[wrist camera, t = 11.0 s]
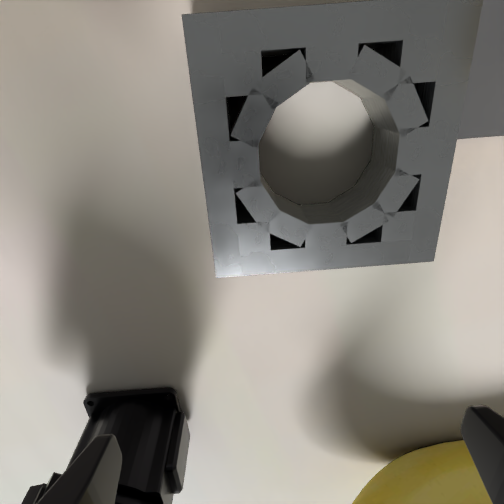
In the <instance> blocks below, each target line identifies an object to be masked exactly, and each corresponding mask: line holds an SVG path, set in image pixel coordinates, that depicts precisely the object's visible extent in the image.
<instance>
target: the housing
mask: <svg viewBox="0 0 504 504" xmlns="http://www.w3.org/2000/svg"><path fill="white" fill-rule="evenodd" d="M482 5H483V0H372V1H359V2H345V3H331V4H318V5H304V6H291V7H277V8H264V9H250V10H236V11H223V12H209V13H196V14H182V21H183V28H184V36H185V44H186V51H187V59H188V66H189V74H190V82H191V89H192V97H193V105H194V112H195V120H196V127H197V135H198V143H199V150H200V158H201V166H202V173H203V181H204V188H205V196H206V204H207V211H208V219H209V227H210V234H211V242H212V249H213V257H214V265H215V272H216V278H222V277H235V276H248V275H261V274H274V273H287V272H300V271H313V270H326V269H339V268H353V267H366V266H379V265H392V264H405V263H418V262H431V261H434V257H435V252H436V246H437V241H438V236H439V231H440V225H441V220H442V215H443V210H444V204H445V199H446V194H447V189H448V183H449V178H450V173H451V168H452V162H453V157H454V152H455V147H456V141H457V136H458V131H459V126H460V120H461V115H462V110H463V105H464V99H465V94H466V89H467V84H468V78H469V73H470V68H471V63H472V57H473V52H474V47H475V42H476V36H477V31H478V26H479V21H480V15H481V10H482ZM372 49H374V50H372ZM284 55H291V56H289V57H288V58H287V59H285V60H284V61H283V62H281V63H280V64H279V65H277V66H276V67H275V68H273V69H272V70H271V71H269V72H268V73H267V74H265V75H264V76H263V77H262V60H261V57H271V56H284ZM327 81H333V82H335V83H336V84H338V85H340V86H341V87H343V88H345V89H347V90H348V91H350V92H352V93H353V94H355V95H357V96H358V97H360V98H361V100H362V102H363V104H364V107H365V109H366V111H367V113H368V115H369V117H370V119H371V121H372V123H373V125H374V134H373V146H372V157H371V161H370V162H369V164H368V165H367V167H366V169H365V170H364V172H363V173H362V175H361V177H360V178H359V180H358V181H357V183H356V185H355V186H354V187H353V188H351V189H350V190H348V191H346V192H345V193H343V194H341V195H340V196H338V197H337V198H335V199H333V200H332V201H330V202H329V203H318V204H305V205H298V204H296V203H294V202H292V201H290V200H288V199H286V198H284V197H282V196H279V195H277V194H275V193H273V191H272V190H271V188H270V187H269V185H268V184H267V182H266V181H265V179H264V178H263V176H262V175H261V173H260V164H259V146H258V144H259V142H260V140H261V138H262V136H263V134H264V132H265V129H266V127H267V125H268V123H269V121H270V119H271V117H272V115H273V113H274V111H275V109H276V107H277V106H278V105H280V104H281V103H283V102H284V101H285V100H287V99H288V98H290V97H291V96H292V95H294V94H295V93H297V92H298V91H299V90H301V89H302V88H303V87H305V86H306V85H308V84H309V83H314V82H327ZM234 96H246V97H245V99H244V102H243V104H242V106H241V109H240V111H239V113H238V115H237V118H236V120H235V122H234V125H233V127H232V130H231V127H230V116H229V105H228V97H234ZM236 194H237V195H236ZM237 196H238V197H239V199H240V200H241V201H242V203H243V204H237Z"/></svg>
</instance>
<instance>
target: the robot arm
mask: <svg viewBox="0 0 504 504" xmlns="http://www.w3.org/2000/svg"><path fill="white" fill-rule="evenodd" d="M84 406H85V408H86V411H87V413H88V416H89V420H88V423H87V425H86V427H85V429H84V431H83V434H82V436H81V438H80V440H79V442H78V445H77V447H76V449H75V451H74V453H73V456H72V458H71V460H70V462H69V464H68V467H67V469H66V471H65V472H64V473H63V474H58V473H55V472H54V473H53V475H52V476H51V478H50V480H49V481H48V483H47V484H44V483H43V484H42V485H36V486H31V487H30V489H29V490H28V492H27V494H26V496H25V498H24V500H23V502H22V504H172V500H173V494H178V493H180V492H181V490H182V489H183V482H184V475H185V468H186V461H187V454H188V447H189V440H190V433H189V429H188V424H187V420H186V415H185V414H184V413H183V412H181V410H180V405H179V401H178V397H177V392H176V390H174V389H173V388H158V389H146V390H133V391H120V392H107V393H94V394H88V395H87V396H86V398H85V400H84ZM461 434H462V437H463V439H464V442H465V444H466V446H467V448H468V451H469V453H470V455H471V457H472V460H473V462H474V464H475V466H476V468H477V471H478V473H479V475H480V477H481V480H482V482H483V484H484V486H485V488H486V491H487V493H488V495H489V497H490V499H491V501H492V503H493V504H504V418H503V417H502V416H501V415H499V414H498V413H496V412H495V411H493V410H492V409H490V408H489V407H487V406H484V405H475V406H469V407H467V408H466V411H465V414H464V418H463V421H462V424H461Z"/></svg>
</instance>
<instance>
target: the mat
mask: <svg viewBox="0 0 504 504" xmlns="http://www.w3.org/2000/svg"><path fill="white" fill-rule="evenodd" d="M491 136H504V0H483V5H482V10H481V15H480V21H479V26H478V31H477V36H476V42H475V47H474V52H473V57H472V63H471V68H470V73H469V78H468V84H467V89H466V94H465V99H464V105H463V110H462V115H461V120H460V126H459V131H458V136H457V139H464V138H478V137H491Z"/></svg>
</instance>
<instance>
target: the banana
mask: <svg viewBox="0 0 504 504" xmlns="http://www.w3.org/2000/svg"><path fill="white" fill-rule="evenodd" d="M352 504H493V503H492V501H491V499H490V497H489V495H488V493H487V491H486V488H485V486H484V484H483V482H482V480H481V477H480V475H479V473H478V471H477V468H476V466H475V464H474V462H473V460H472V457H471V455H470V453H469V451H468V448H467V446H466V444H465V442H464V440H460V441H453V442H446V443H441V444H437V445H433V446H429V447H425V448H421V449H418V450H415V451H412V452H410V453H407V454H405V455H403V456H401V457H399V458H397V459H396V460H394V461H392V462H391V463H389V464H388V465H387V466H385V467H384V468H383V469H382V470H380V471H379V472H378V473H377V474H376V475H375V476H374V477H373V478H372V479H371V480H370V481H369V482H368V483H367V485H366V486H365V487H364V488H363V489H362V491H361V492H360V493H359V495H358V496H357V498H356V499H355V500H354V502H353V503H352Z"/></svg>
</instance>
